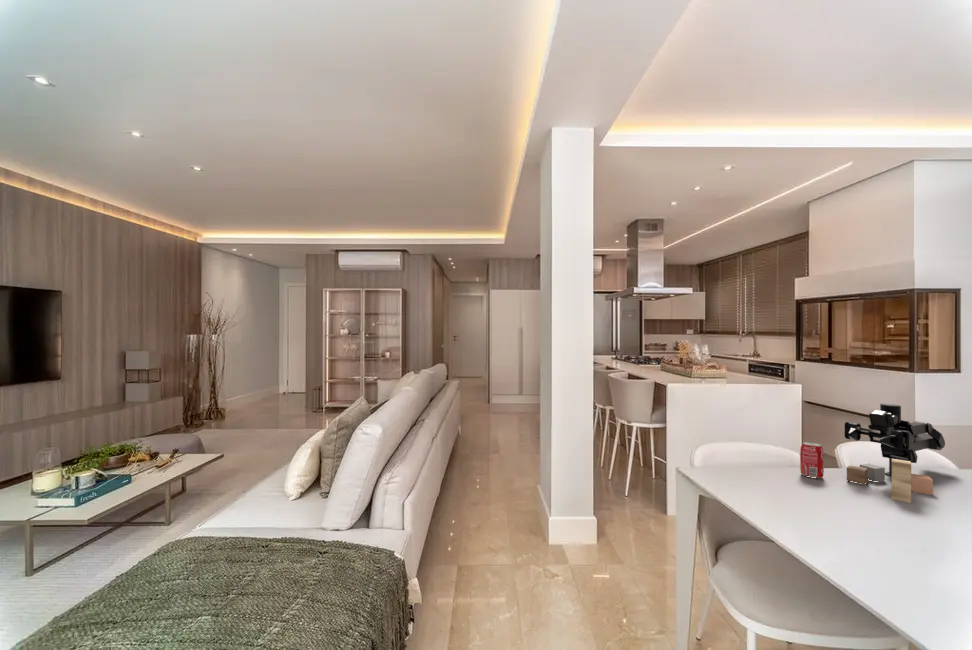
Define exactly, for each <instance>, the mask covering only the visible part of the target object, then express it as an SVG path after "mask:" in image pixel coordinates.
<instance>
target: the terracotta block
mask: <svg viewBox="0 0 972 650" xmlns="http://www.w3.org/2000/svg"><path fill="white" fill-rule="evenodd" d="M911 490H912V491H914V492H913V493H917V492H920V493H919V494H923V493H925V494H924V495H930V494H931V496H932V495H933V494H934V480H933V479H932V478H931V477H930V476H929V475H923V474H916V473H911ZM912 491H911V492H912ZM933 496H934V495H933Z"/></svg>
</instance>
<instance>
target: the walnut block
mask: <svg viewBox="0 0 972 650" xmlns="http://www.w3.org/2000/svg"><path fill="white" fill-rule="evenodd" d="M847 480H848V481H853V482H857V483H862V484H865V483H866V482H867V481H868V468H863V467H860V466H855V465H851V464H850V465H848V466H847V467H846V481H847ZM868 482H869V481H868ZM868 482H867V483H868ZM857 483H856V484H857ZM867 483H866V484H867ZM866 484H865V485H866Z"/></svg>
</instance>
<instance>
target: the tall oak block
mask: <svg viewBox="0 0 972 650" xmlns="http://www.w3.org/2000/svg"><path fill="white" fill-rule="evenodd" d="M911 474H912V463H911V461H904V460H898V459H892V476H891V500H893V501H900V502H904V503H909V504H911V503H912V491H911Z"/></svg>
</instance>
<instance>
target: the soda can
mask: <svg viewBox="0 0 972 650" xmlns="http://www.w3.org/2000/svg"><path fill="white" fill-rule="evenodd" d="M824 451H825V450H824V448H823V445H822V444H821V443H818V442H812V441H811V442H810V441H803V442H802V445H800V451H799V452H800V453H799V456H800V457H799V459H800V460H799V463H800V464H799V469H800V470H799V471H800V474H801V475H802V476H804V475H805V476H810V477H816V478H819V479H821V478H823V477H824V473H825V472H824V471H825V452H824ZM805 476H804V477H805Z"/></svg>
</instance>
